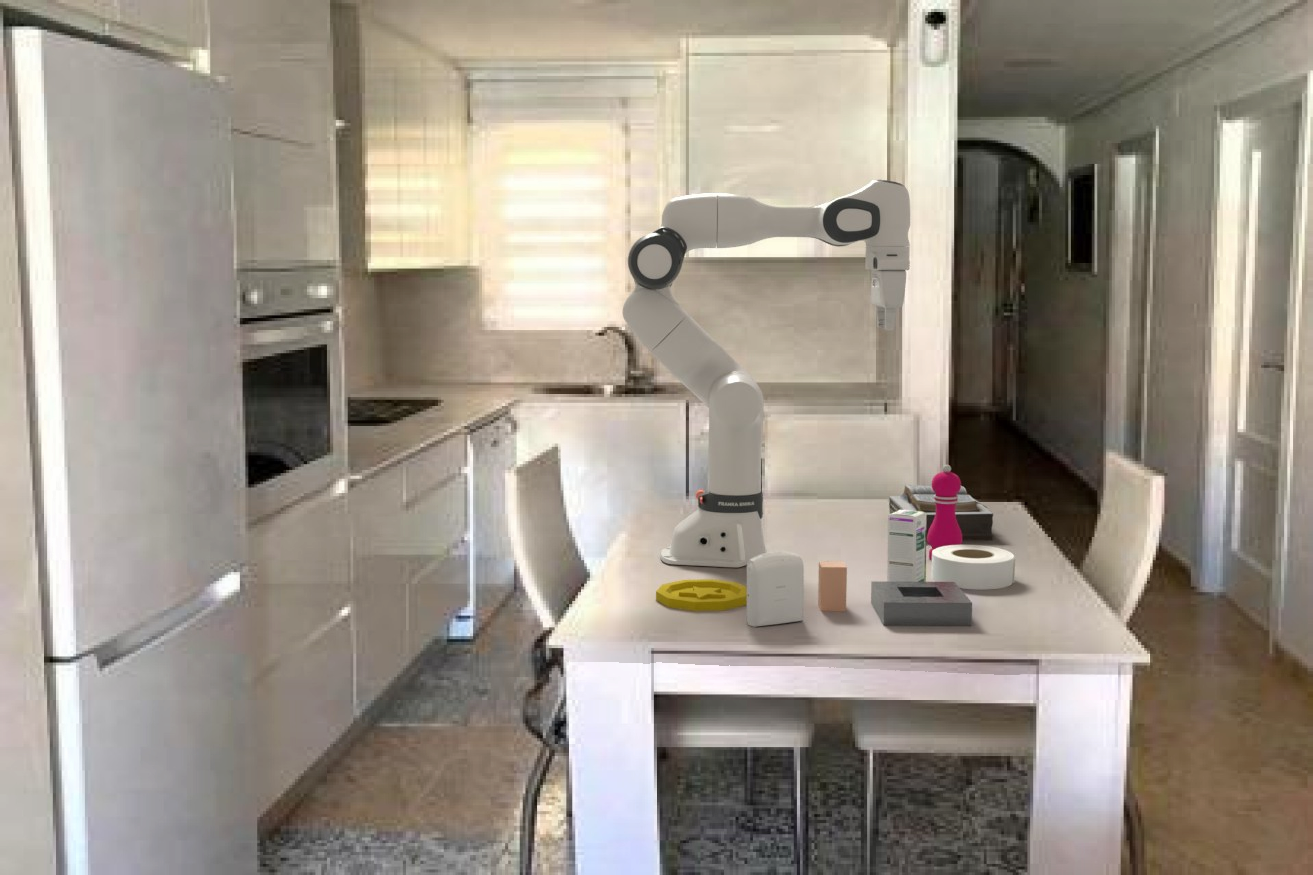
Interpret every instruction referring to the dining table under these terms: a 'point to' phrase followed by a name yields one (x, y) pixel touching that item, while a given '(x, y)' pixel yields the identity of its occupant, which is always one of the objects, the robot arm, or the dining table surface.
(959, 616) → the square hole block
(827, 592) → the square peg
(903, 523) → the syrup box
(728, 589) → the decorative disc
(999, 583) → the roll of tape
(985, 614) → the dining table surface
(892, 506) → the bible
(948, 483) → the pepper mill
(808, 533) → the dining table surface
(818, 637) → the dining table surface
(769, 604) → the photo printer
